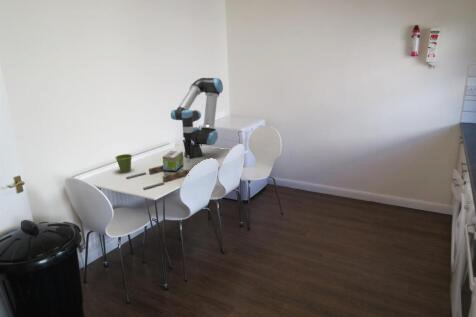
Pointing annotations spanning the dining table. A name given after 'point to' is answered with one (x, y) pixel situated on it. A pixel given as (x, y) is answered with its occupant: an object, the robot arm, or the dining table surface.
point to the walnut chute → (169, 176)
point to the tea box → (173, 162)
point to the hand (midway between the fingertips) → (189, 162)
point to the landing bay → (147, 186)
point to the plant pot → (124, 162)
